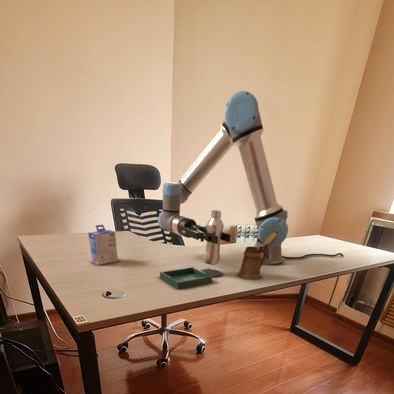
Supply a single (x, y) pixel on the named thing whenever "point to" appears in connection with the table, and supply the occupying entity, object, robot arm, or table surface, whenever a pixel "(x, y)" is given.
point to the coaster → (212, 272)
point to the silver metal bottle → (216, 228)
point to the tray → (185, 277)
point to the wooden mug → (255, 258)
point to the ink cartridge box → (103, 246)
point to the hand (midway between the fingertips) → (223, 239)
